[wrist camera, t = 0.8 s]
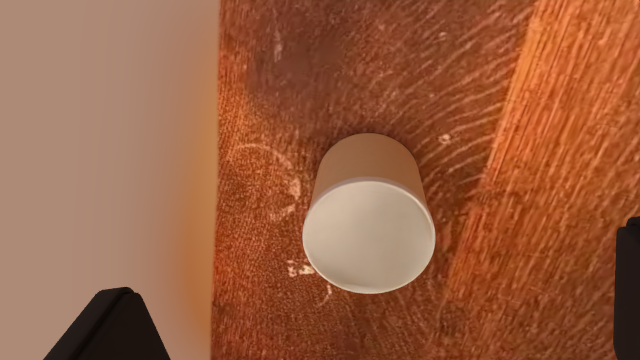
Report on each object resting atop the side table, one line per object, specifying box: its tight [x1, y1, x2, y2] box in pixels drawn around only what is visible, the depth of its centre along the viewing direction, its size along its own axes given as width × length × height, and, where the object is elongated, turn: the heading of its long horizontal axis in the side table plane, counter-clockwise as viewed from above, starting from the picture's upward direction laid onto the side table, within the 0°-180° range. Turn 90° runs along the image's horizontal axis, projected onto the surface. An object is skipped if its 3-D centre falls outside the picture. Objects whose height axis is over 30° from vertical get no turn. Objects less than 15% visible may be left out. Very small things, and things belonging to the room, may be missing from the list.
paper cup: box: [303, 133, 435, 294], centre depth 27 cm, size 7×7×7 cm
